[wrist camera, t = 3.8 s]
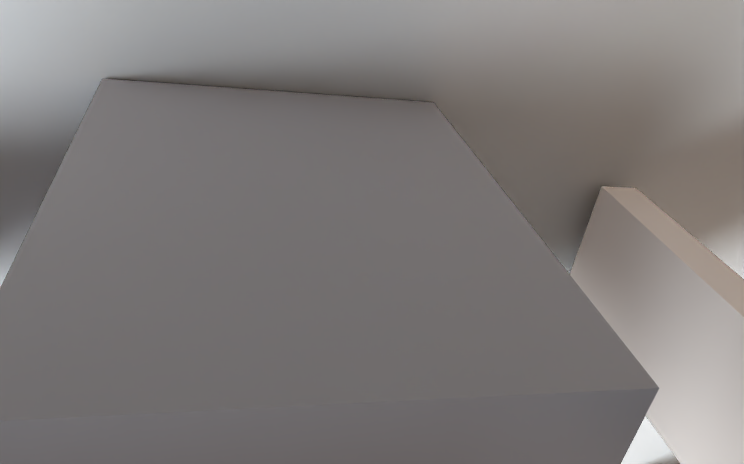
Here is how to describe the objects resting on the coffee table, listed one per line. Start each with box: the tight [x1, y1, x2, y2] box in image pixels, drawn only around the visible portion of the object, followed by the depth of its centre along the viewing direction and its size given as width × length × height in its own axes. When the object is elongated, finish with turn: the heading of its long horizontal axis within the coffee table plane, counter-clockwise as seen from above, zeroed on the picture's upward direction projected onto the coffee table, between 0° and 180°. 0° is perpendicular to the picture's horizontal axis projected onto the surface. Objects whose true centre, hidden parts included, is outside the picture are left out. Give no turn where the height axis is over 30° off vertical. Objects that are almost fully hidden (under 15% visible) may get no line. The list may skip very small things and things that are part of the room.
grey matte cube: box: [0, 79, 659, 464], centre depth 9 cm, size 5×5×7 cm
